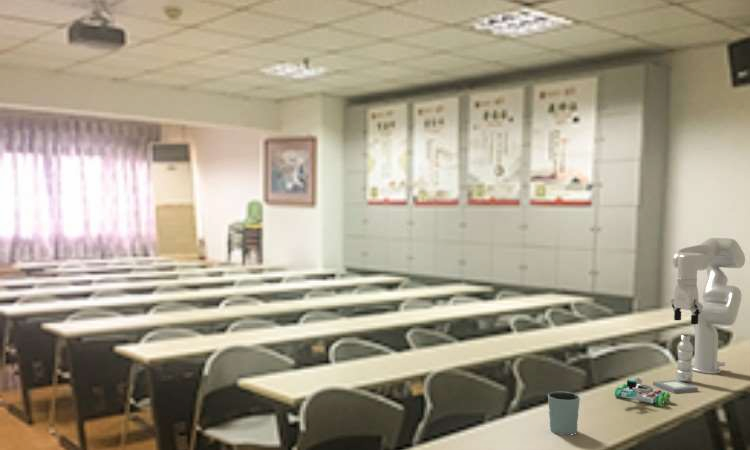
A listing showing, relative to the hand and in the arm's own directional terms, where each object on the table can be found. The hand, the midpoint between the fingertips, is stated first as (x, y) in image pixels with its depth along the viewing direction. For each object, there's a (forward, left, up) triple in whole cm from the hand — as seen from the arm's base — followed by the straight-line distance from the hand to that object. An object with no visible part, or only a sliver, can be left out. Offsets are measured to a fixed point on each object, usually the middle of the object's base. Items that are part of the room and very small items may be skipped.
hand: (685, 322), depth 283 cm
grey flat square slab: (+12, +8, -26) cm, 29 cm away
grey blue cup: (+88, +42, -26) cm, 101 cm away
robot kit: (+41, +21, -26) cm, 53 cm away
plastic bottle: (0, 0, -26) cm, 26 cm away
